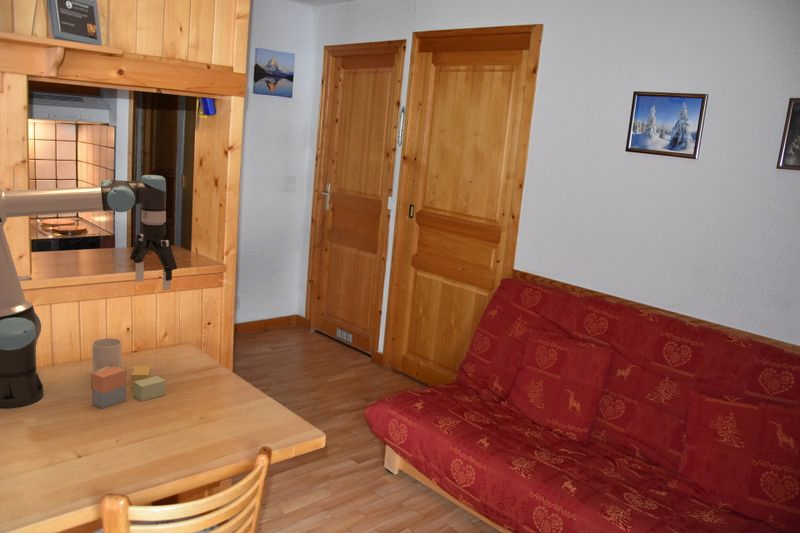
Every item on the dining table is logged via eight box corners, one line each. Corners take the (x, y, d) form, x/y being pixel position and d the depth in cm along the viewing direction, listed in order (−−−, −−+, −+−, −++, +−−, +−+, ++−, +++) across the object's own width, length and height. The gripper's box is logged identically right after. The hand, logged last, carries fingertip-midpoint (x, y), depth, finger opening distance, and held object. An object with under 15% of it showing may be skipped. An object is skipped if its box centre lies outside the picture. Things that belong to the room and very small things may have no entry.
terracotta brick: (92, 388, 197) (91, 373, 196) (115, 381, 204) (115, 366, 203) (102, 393, 195) (102, 377, 194) (125, 385, 201) (125, 370, 200)
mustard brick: (131, 389, 211) (131, 374, 210) (135, 379, 218) (135, 365, 217) (147, 389, 212) (147, 374, 211) (151, 379, 219) (151, 365, 218)
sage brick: (133, 396, 206) (133, 381, 205) (157, 390, 212) (157, 375, 211) (141, 401, 203) (141, 386, 202) (165, 395, 209) (165, 380, 208)
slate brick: (92, 403, 198) (92, 388, 197) (116, 396, 205) (116, 381, 204) (101, 408, 196) (101, 393, 195) (126, 400, 202) (126, 385, 201)
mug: (119, 378, 218) (119, 346, 215) (90, 379, 215) (90, 347, 213) (124, 365, 229) (124, 334, 226) (96, 365, 226) (96, 334, 224)
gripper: (118, 218, 217) (119, 279, 222) (170, 230, 205) (169, 295, 210) (138, 216, 224) (138, 276, 228) (188, 227, 211) (187, 291, 216)
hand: (152, 285), depth 219 cm, fingers open, 13 cm apart
